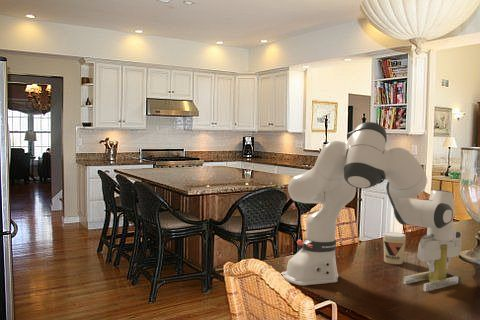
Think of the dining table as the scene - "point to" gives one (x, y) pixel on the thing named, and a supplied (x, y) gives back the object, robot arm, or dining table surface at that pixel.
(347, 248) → the dining table surface
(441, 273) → the vase
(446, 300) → the dining table surface
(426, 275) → the rail board
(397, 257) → the coffee cup
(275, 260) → the dining table surface
